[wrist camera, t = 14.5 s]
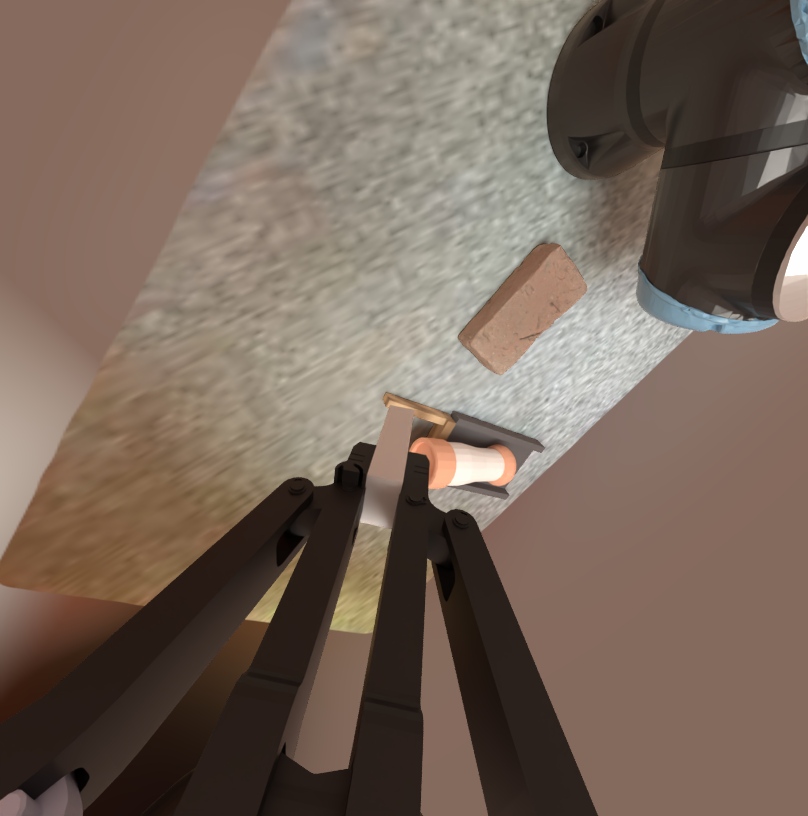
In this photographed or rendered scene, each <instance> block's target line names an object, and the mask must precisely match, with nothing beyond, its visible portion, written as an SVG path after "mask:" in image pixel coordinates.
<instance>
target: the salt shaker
mask: <svg viewBox="0 0 808 816" xmlns="http://www.w3.org/2000/svg"><path fill="white" fill-rule="evenodd" d="M409 452H414V453H419V454H424V455H426V456H427V458H428V459H429V461H430V467H429V486H428V489H438V488H444V487H446V486H460V485H464V484H468V483H472V482H480V481H487V482H489V483H490V484H492V485H496V486H502V485H505V484H507V483H508V482H510V481H511V480H512V478H513V477H514V475H515V472H516V460H515V457H514V455H513V454H512V452H511V451H510V450H509V449H508V448H507V447H505V446H502V445H500V444H494V445H492V446H489V447H487V448H477V447H473V446H470V445H467V444H463V443H458V442H447V441H445V440H443V439H435V438H419V439H417V440H415V442H414V443H413V444H412V445H411V447H410V450H409Z"/></svg>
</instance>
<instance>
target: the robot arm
mask: <svg viewBox="0 0 808 816" xmlns="http://www.w3.org/2000/svg"><path fill="white" fill-rule="evenodd" d="M547 118H548V131H549V137H550V141H551V145H552V148H553V150H554V153H555V155H556V157H557V159H558V161H559V162H560V164H561V165H562V166H563V167H564V169H565V170H566V171H568V172H569V173H570V174H572V175H573V176H575V177H578V178H580V179H586V180H594V179H600V178H606V177H611V176H614V175H617V174H620V173H622V172H624V171H626V170H628V169H629V168H631V167H633V166H634V165H636V164H638V163H639V162H641V161H643V160H644V159H646V158H648V157H649V156H651V155H652V154H654V153H656V152H657V151H659V150H661V149H662V148H664V147H665V151H664V156H663V161H662V165H661V169H660V174H659V179H658V183H657V188H656V193H655V198H654V202H653V207H652V212H651V217H650V221H649V226H648V231H647V236H646V241H645V245H644V250H643V255H642V256H641V257H640V259H639V262H638V273H639V276H638V283H637V289H636V296H637V301H638V303H639V305H640V306H641V307H642V309H643V310H644V311H645V312H647V313H648V314H649V315H651V316H653V317H654V318H656V319H658V320H661V321H663V322H665V323H668V324H671V325H674V326H677V327H681V328H685V329H690V330H695V331H702V332H705V331H707V330H714V331H717V332H718V333H727V334H738V333H749V332H756V331H759V330H762V329H765V328H768V327H771V326H773V325H774V324H776V323H777V322H778V321H779V320H783V321H792V322H798V321H801V320H805V319H808V0H602V1H601V2H599V3H598V4H597V5H596V6H594V7H593V8H592V9H591V10H590V11H589V12H588V13H587V14H586V15H585V16H584V17H583V18H582V19H581V20H580V21H579V23H578V24H577V25H576V27H575V28H574V30H573V31H572V33H571V34H570V36H569V38H568V39H567V41H566V43H565V45H564V47H563V49H562V51H561V53H560V56H559V58H558V61H557V64H556V67H555V70H554V73H553V77H552V81H551V85H550V91H549V98H548V110H547ZM414 411H415V410H413V409H408V408H403V407H398V406H393V405H390V406H389V410H388V413H387V416H386V419H385V422H384V425H383V428H382V431H381V434H380V437H379V440H378V443H377V445H372V444H367V443H362V442H359V443H358V444H356V445H355V446H354V447H353V449H352V451H351V454H350V456H349V458H348V460H347V461H345V462H342V463H340V464H338V465H337V466H336V467H335V476H334V483H333V484H331V485H327V486H314V485H313V483H312V482H311V481H310V480H308V479H306V478H302V477H296V478H291V479H288V480H287V481H285V482H283V483H282V484H281V485H280V486H279V487H278V488H277V489H276V490H275V491H273V492H272V493H271V494H270V495H269V496H268V497H267V498H266V499H264V500H263V501H262V502H261V503H260V504H259V505H258V506H257V507H255V508H254V509H253V510H252V511H251V512H250V513H249V514H248V515H246V516H245V517H244V518H243V519H242V520H241V521H240V522H239V523H238V524H236V525H235V526H234V527H233V528H232V529H231V530H230V531H229V532H227V533H226V534H225V535H224V536H223V537H222V538H221V539H220V540H218V541H217V542H216V543H215V544H214V545H213V546H212V547H211V548H209V549H208V550H207V551H206V552H205V553H204V554H203V555H202V556H200V557H199V558H198V559H197V560H196V561H195V562H194V563H193V564H192V565H190V566H189V567H188V568H187V569H186V570H185V571H184V572H183V573H181V574H180V575H179V576H178V577H177V578H176V579H175V580H174V581H172V582H171V583H170V584H169V585H168V586H167V587H166V588H165V589H163V590H162V591H161V592H160V593H159V594H158V595H157V596H156V597H155V598H153V599H152V600H151V601H150V602H149V603H148V604H147V605H146V606H144V607H143V608H142V609H141V610H140V611H139V612H138V613H137V614H135V615H134V616H133V617H132V618H131V619H130V620H129V621H128V622H126V623H125V624H124V625H123V626H122V627H121V628H120V629H119V630H118V631H116V632H115V633H114V634H113V635H112V636H111V637H110V638H109V639H108V640H106V641H105V642H104V643H103V644H102V645H101V646H100V647H98V648H97V649H96V650H95V651H94V652H93V653H92V654H91V655H90V656H88V657H87V658H86V659H85V660H84V661H83V662H82V663H80V664H79V665H78V666H77V667H76V668H75V669H74V670H73V671H72V672H70V673H69V674H68V675H67V676H66V677H65V678H64V679H63V680H61V681H60V682H59V683H58V684H57V685H56V686H55V687H54V688H52V689H51V690H50V691H49V692H48V693H47V694H46V695H45V696H43V697H42V698H41V699H39V700H37V701H36V702H34V703H32V704H31V705H29V706H28V707H26V708H24V709H23V710H21V711H20V712H18V713H17V714H15V715H14V716H12V717H10V718H9V719H7V720H6V721H4V722H2V723H1V724H0V816H83V811H84V810H85V809H86V808H87V807H88V806H89V805H90V804H91V803H93V802H94V800H95V799H96V798H97V797H98V796H99V795H100V794H101V793H102V792H103V791H104V790H105V789H106V788H107V787H108V786H109V785H110V784H111V783H112V782H113V780H115V779H116V778H117V776H119V774H120V773H121V772H122V771H123V770H124V769H125V767H126V766H127V765H128V764H129V763H130V761H132V759H133V758H134V757H135V756H136V754H137V753H138V752H139V751H140V750H141V749H142V748H143V746H144V745H145V744H146V743H147V741H148V740H149V739H150V738H151V736H152V735H153V734H154V733H155V731H156V730H157V729H158V728H159V726H160V725H161V724H162V723H163V721H164V720H165V719H166V718H167V716H168V715H169V714H170V712H171V711H172V710H173V709H174V707H175V706H176V705H177V704H178V702H179V701H180V700H181V699H182V697H183V696H184V695H185V694H186V692H187V691H188V690H189V689H190V687H191V686H192V685H193V684H194V682H195V681H196V680H197V679H198V677H199V676H200V675H201V674H202V672H203V671H204V670H205V669H206V667H207V666H208V665H209V664H210V662H211V661H212V660H213V659H214V657H215V656H216V655H217V654H218V652H219V651H220V650H221V648H222V647H223V646H224V645H225V643H226V642H227V641H228V640H229V638H230V637H231V636H232V635H233V633H234V632H235V631H236V630H237V628H238V627H239V626H240V625H241V623H242V622H243V621H244V620H245V618H246V617H247V616H248V615H249V613H250V612H251V611H252V610H253V608H254V607H255V606H256V605H257V603H258V602H259V601H260V600H261V598H262V597H263V596H264V594H265V593H266V592H267V591H268V589H269V588H270V587H271V586H272V584H273V583H274V582H275V581H276V579H277V578H278V577H279V576H280V574H281V573H282V572H283V571H284V569H285V568H286V567H287V566H288V564H289V563H290V562H291V561H292V559H293V558H294V557H295V556H296V554H297V553H298V552H299V551H300V549H301V548H302V547H303V545H304V544H305V543H306V542H307V543H306V545H305V547H304V550H303V552H302V554H301V556H300V558H299V561H298V563H297V565H296V567H295V569H294V572H293V574H292V576H291V578H290V580H289V583H288V585H287V587H286V589H285V591H284V594H283V596H282V598H281V600H280V602H279V605H278V607H277V609H276V611H275V613H274V615H273V618H272V620H271V622H270V624H269V627H268V629H267V631H266V633H265V635H264V637H263V640H262V642H261V644H260V646H259V649H258V651H257V653H256V655H255V657H254V659H253V662H252V664H251V666H250V667H249V669H248V670H247V671H246V672H245V673H244V674H242V675H241V677H240V678H239V680H238V681H237V682H236V684H235V686H234V688H233V690H232V692H231V694H230V696H229V698H228V700H227V703H226V705H225V707H224V709H223V711H222V713H221V715H220V718H219V720H218V722H217V724H216V726H215V728H214V730H213V732H212V735H211V737H210V739H209V741H208V743H207V745H206V747H205V749H204V751H203V753H202V756H201V758H200V760H199V762H198V764H197V766H196V768H195V769H193V770H191V771H190V772H189V773H188V774H186V775H185V776H184V777H182V778H181V779H180V780H178V781H177V782H176V783H175V784H174V785H173V786H172V787H170V788H169V789H168V790H167V791H166V792H165V793H164V794H163V795H162V796H161V797H160V798H159V799H158V800H156V801H155V802H154V803H153V804H152V805H151V806H150V807H149V808H148V809H147V810H146V811H145V812H143V814H141V815H140V816H423V815H422V813H421V812H420V807H421V781H422V755H423V714H422V711H421V706H420V697H421V676H422V655H423V654H422V653H423V634H424V633H423V632H424V612H425V590H426V571H427V558H428V559H429V560H431V561H432V568H433V573H434V577H435V581H436V586H437V590H438V595H439V599H440V604H441V608H442V612H443V616H444V621H445V626H446V630H447V634H448V639H449V643H450V648H451V652H452V657H453V661H454V665H455V670H456V674H457V679H458V683H459V687H460V692H461V696H462V700H463V705H464V710H465V714H466V719H467V723H468V727H469V731H470V736H471V741H472V745H473V749H474V754H475V758H476V763H477V767H478V771H479V776H480V780H481V785H482V789H483V794H484V798H485V803H486V807H487V811H488V816H598V815H597V812H596V810H595V807H594V805H593V803H592V800H591V798H590V796H589V793H588V790H587V788H586V786H585V783H584V781H583V778H582V776H581V774H580V771H579V769H578V767H577V764H576V761H575V759H574V757H573V754H572V752H571V749H570V747H569V745H568V742H567V740H566V737H565V735H564V732H563V730H562V728H561V725H560V723H559V720H558V718H557V716H556V713H555V711H554V708H553V706H552V704H551V701H550V699H549V696H548V694H547V691H546V689H545V687H544V684H543V682H542V679H541V677H540V675H539V672H538V670H537V667H536V665H535V662H534V660H533V658H532V655H531V653H530V651H529V648H528V646H527V643H526V641H525V638H524V636H523V634H522V631H521V629H520V626H519V624H518V621H517V619H516V617H515V614H514V612H513V609H512V607H511V605H510V602H509V600H508V597H507V595H506V592H505V590H504V588H503V585H502V583H501V580H500V578H499V576H498V573H497V571H496V568H495V566H494V564H493V561H492V559H491V557H490V554H489V551H488V549H487V547H486V544H485V542H484V540H483V537H482V535H481V532H480V530H479V527H478V525H477V522H476V521H475V519H474V518H473V516H471V515H470V514H469V513H467V512H465V511H463V510H458V509H454V510H450V511H449V512H447V513H445V512H443V511H441V510H439V509H437V508H436V507H435V506H434V505H432V503H431V502H430V500H429V498H428V486H429V467H430V461H429V459H428V458H427V456H426V455H424V454H419V453H414V452H409V451H408V448H409V442H410V436H411V430H412V424H413V417H414ZM359 522H362V523H367V524H371V525H376V526H381V527H386V528H390V529H392V532H391V536H390V541H389V545H388V550H387V551H388V552H387V558H386V563H385V569H384V575H383V580H382V586H381V591H380V597H379V602H378V608H377V614H376V619H375V625H374V630H373V636H372V641H371V647H370V653H369V658H368V664H367V669H366V675H365V680H364V686H363V691H362V697H361V703H360V708H359V714H358V719H357V726H356V730H355V736H354V742H353V747H352V751H351V756H350V762H349V767H348V769H344V770H338V771H332V772H326V773H320V774H313V773H311V772H309V771H308V770H306V769H305V768H303V767H302V766H300V765H299V764H298V763H296V762H295V761H293V758H294V754H295V750H296V746H297V742H298V737H299V732H300V728H301V725H302V720H303V717H304V714H305V711H306V707H307V704H308V700H309V697H310V693H311V690H312V686H313V683H314V680H315V676H316V673H317V669H318V666H319V663H320V659H321V656H322V652H323V649H324V645H325V642H326V639H327V635H328V632H329V628H330V625H331V621H332V618H333V615H334V611H335V608H336V604H337V601H338V597H339V594H340V591H341V587H342V584H343V580H344V577H345V573H346V570H347V567H348V563H349V560H350V556H351V553H352V549H353V546H354V543H355V539H356V536H357V532H358V526H359ZM307 540H308V541H307Z"/></svg>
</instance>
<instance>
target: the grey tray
mask: <svg viewBox="0 0 808 816" xmlns="http://www.w3.org/2000/svg"><path fill="white" fill-rule="evenodd" d="M451 417H452V419H453V420H454V421H455V423H456V425H455V426H454V428H453V430H452V431H451V433H450V435H449V436H448V438H447V439H446V441H447V442H458V443H463V444H467V445H470V446H473V447H477V448H487V447H489V446H492V445H494V444H500V445H502V446H505V447H507V448H508V449H509V450H510V451H511V452H512V454H513V455H514V457H515V460H516V472H515V474H516V473H517V471H518V470H519V469H520V467H521V466H522V465H523V463H524V462H525V461H526V459H527V458H528V457H529V455H530V454H531V452H532V451H533V450H534V451H537V452H540V453H542V451H543V450H544V449H545V447H544V446H543V445H542V444H541V443H540V442H539V441H537V440H535V439H532V438H529V437H526V436H524V435H521V434H518V433H515V432H512V431H509V430H507V429H504V428H501V427H498V426H495V425H492V424H489V423H487V422H484V421H481V420H478V419H475V418H472V417H470V416H467V415H464V414H461V413H458V412H455V411H453V412H452V414H451ZM508 483H509V482H508ZM508 483H507V484H505V485H502V486H496V485H492V484H490V483H489V482H487V481H480V482H472V483H468V484H464V485H460V486H448V487H452V488H457V489H461V490H466V491H470V492H475V493H479V494H484V495H488V496H492V497H497V498H501V499H507V498H508V496H509V494H508V493H507V491H506V490H505V487H506V486H507V485H508Z"/></svg>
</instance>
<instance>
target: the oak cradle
mask: <svg viewBox="0 0 808 816" xmlns="http://www.w3.org/2000/svg"><path fill="white" fill-rule="evenodd" d="M383 401H384V404H385V406H386V407H387V408H389V406H390V405H393V406H398V407H403V408H408V409H413V410H415V411H414V416H415V417H418V418H421V419H424V420H427V421H430V422H433V423H435V424H434V425H433V427H432V429H431V430H430V432H429V434H428V435H427V437H426V438H435V439H443V440H445V441H446V439H447V438H448V436H449V435H450V433H451V431H452V430H453V428H454V426H455V425H456V423H455V421H454V420H453V419H452V417H451V416H450V415H449V414H447V413H445V412H441V411H439V410H436V409H433V408H430V407H427V406H424V405H421V404H418V403H415V402H413V401H410V400H407V399H404V398H401V397H398V396H395V395H392V394H389V393H386V394H385V396H384V398H383Z"/></svg>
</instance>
